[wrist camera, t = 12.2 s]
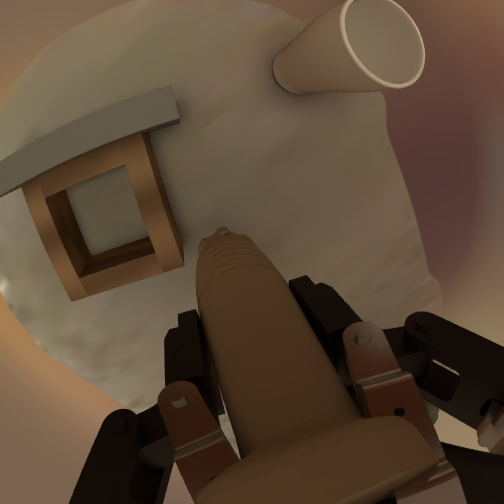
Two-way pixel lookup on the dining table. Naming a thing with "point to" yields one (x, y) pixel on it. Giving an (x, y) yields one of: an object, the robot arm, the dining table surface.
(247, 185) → the dining table surface
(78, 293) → the walnut block
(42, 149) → the slate wall
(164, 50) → the dining table surface
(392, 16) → the drinking glass
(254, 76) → the dining table surface
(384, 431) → the handle
